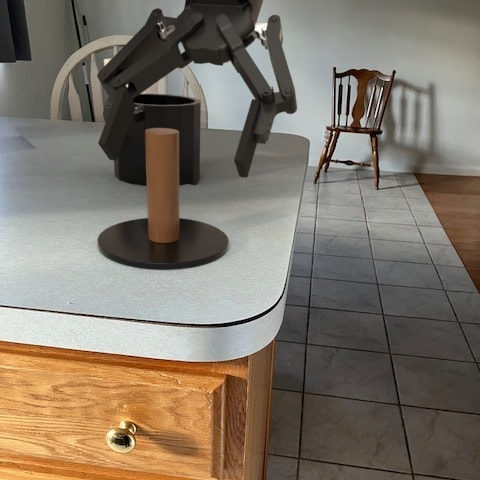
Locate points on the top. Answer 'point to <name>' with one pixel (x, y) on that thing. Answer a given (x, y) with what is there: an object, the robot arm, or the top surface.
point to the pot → (161, 116)
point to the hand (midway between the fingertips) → (171, 160)
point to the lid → (162, 218)
